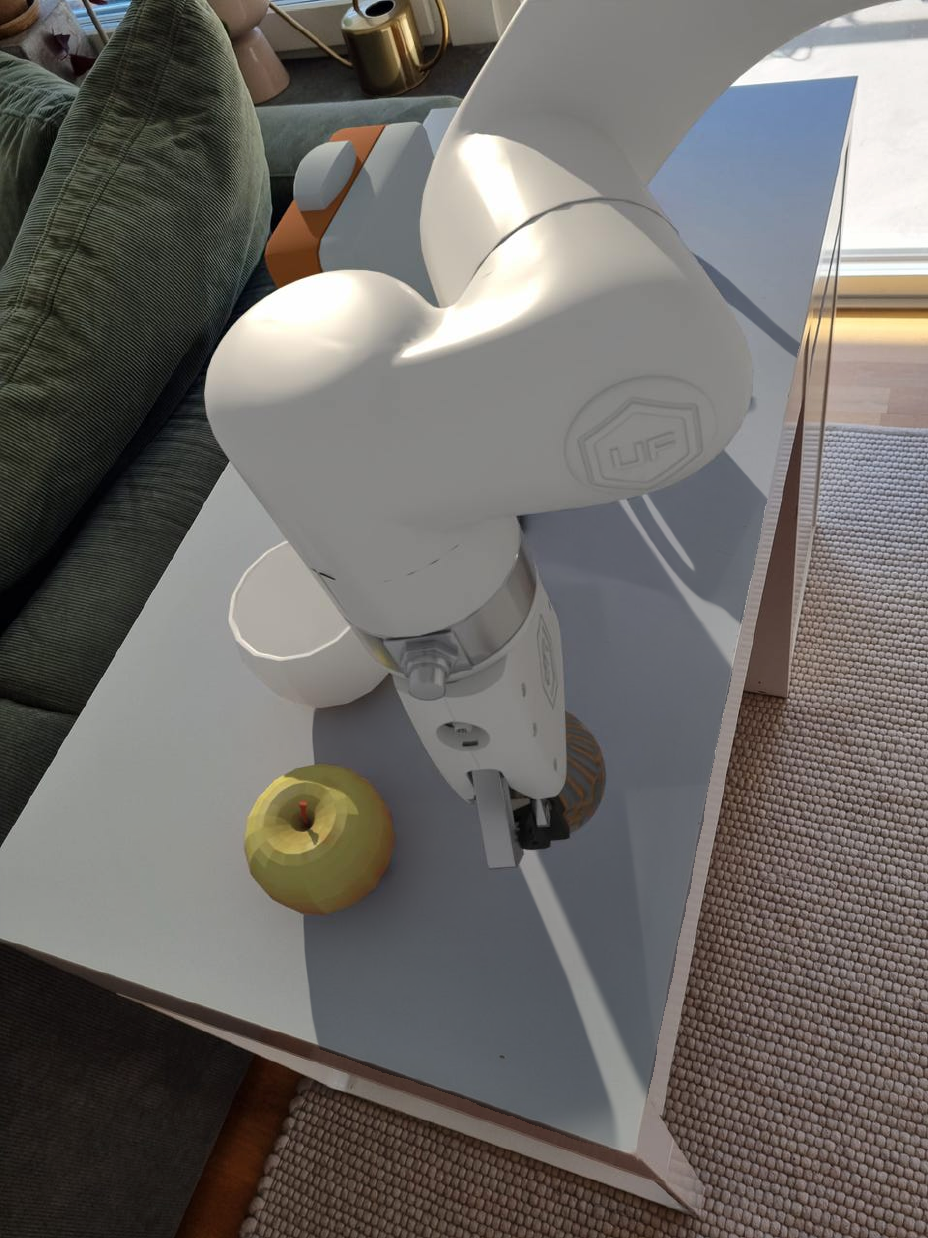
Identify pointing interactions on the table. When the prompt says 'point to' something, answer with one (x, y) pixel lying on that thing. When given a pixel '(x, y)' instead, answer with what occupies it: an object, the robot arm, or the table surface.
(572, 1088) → the table surface
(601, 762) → the vase
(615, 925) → the table surface
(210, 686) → the table surface
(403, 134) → the alarm clock
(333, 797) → the apple
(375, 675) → the cup
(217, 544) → the table surface
